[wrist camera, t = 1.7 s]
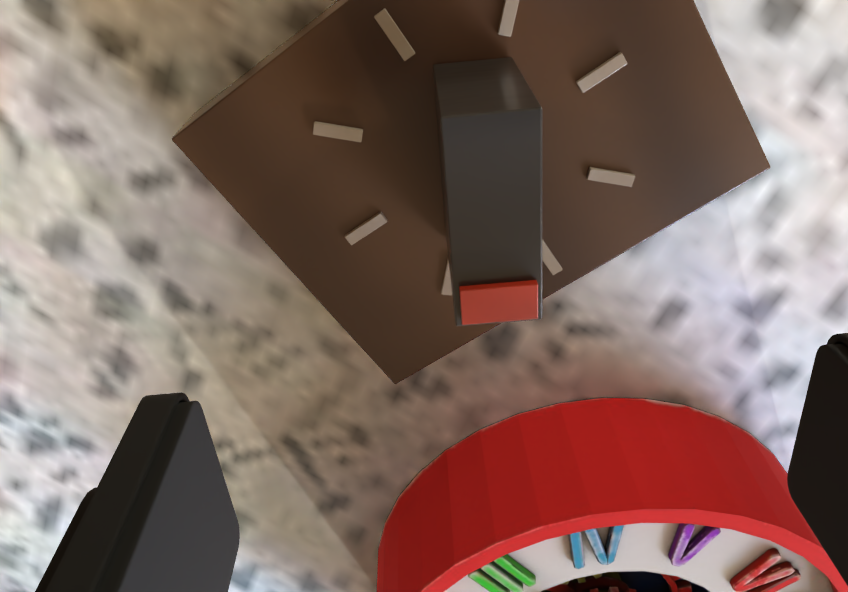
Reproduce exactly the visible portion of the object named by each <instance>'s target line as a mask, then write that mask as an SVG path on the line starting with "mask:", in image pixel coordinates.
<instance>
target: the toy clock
mask: <svg viewBox="0 0 848 592" xmlns="http://www.w3.org/2000/svg"><path fill="white" fill-rule="evenodd" d="M787 475H788V474H787V472H786V471H785V470H784V468H783V467H782V465H781V464H780V463H779V461H778V460H777V458H776V457H775V456H774V454H773V453H772V452H771V451H770V450H769V449H767V448H766V447H765V446H764V445H763V444H762V443H760V442H759V441H758V440H757V439H756V438H755V437H753V436H752V435H751V434H750V433H749V432H747V431H745V430H743V429H741V428H739V427H738V426H736V425H734V424H732V423H730V422H728V421H726V420H725V419H723V418H721V417H719V416H716V415H713V414H710V413H707V412H704V411H701V410H698V409H695V408H692V407H689V406H686V405H681V404H675V403H669V402H662V401H656V400H650V399H639V398H598V399H590V400H582V401H574V402H566V403H558V404H554V405H551V406H547V407H543V408H539V409H535V410H531V411H528V412H524V413H520V414H517V415H514V416H512V417H509V418H507V419H505V420H502V421H500V422H497V423H495V424H493V425H490V426H488V427H485V428H483V429H480V430H479V431H477V432H475V433H473V434H472V435H470V436H468V437H467V438H465V439H463V440H462V441H460V442H458V443H457V444H455V445H453V446H452V447H450V448H448V449H447V450H445V451H444V452H443V453H442V454H441V455H439V456H438V457H437V458H436V459H435V460H433V461H432V462H431V463H430V464H429V465H427V466H426V467H425V468H424V469H423V470H421V471H420V472H419V473H418V474H417V476H416V477H415V478H414V479H413V480H412V482H411V483H410V484H409V485H408V486H407V488H406V489H405V490H404V491H403V492H402V494H401V495H400V496H399V497H398V499H397V501H396V503H395V505H394V507H393V509H392V510H391V512H390V514H389V516H388V518H387V520H386V522H385V525H384V528H383V532H382V536H381V540H380V544H379V548H378V572H377V592H848V586H847V584H846V583H845V581H844V580H843V578H842V576H841V575H840V573H839V572H838V570H837V569H836V567H835V566H834V564H833V562H832V561H831V559H830V558H829V556H828V555H827V553H826V551H825V550H824V548H823V547H822V545H821V544H820V542H819V540H818V539H817V537H816V536H815V534H814V533H813V531H812V530H811V528H810V526H809V525H808V523H807V522H806V520H805V519H804V517H803V515H802V514H801V512H800V511H799V509H798V508H797V506H796V505H795V503H794V501H793V500H792V498H791V495H790V493H789V489H788V485H787Z"/></svg>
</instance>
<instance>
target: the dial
mask: <svg viewBox="0 0 848 592" xmlns="http://www.w3.org/2000/svg"><path fill="white" fill-rule="evenodd" d="M433 75H434V88H435V101H436V114H437V127H438V139H439V152H440V165H441V178H442V191H443V204H444V217H445V230H446V242H447V251H448V260H449V269H450V279H451V288H452V297H453V306H454V315H455V324H456V326H467V325H479V324H491V323H503V322H515V321H527V320H539V319H542V135H543V109H542V107H541V105H540V104H539V102H538V100H537V99H536V97H535V95H534V94H533V92H532V90H531V88H530V87H529V85H528V83H527V82H526V80H525V78H524V77H523V75H522V73H521V72H520V70H519V68H518V66H517V65H516V63H515V61H514V60H513V58H512V57H507V58H496V59H486V60H475V61H464V62H453V63H443V64H434V65H433Z"/></svg>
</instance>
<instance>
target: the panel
mask: <svg viewBox="0 0 848 592" xmlns="http://www.w3.org/2000/svg"><path fill="white" fill-rule="evenodd" d="M507 57H512V58H513V60H514V61H515V63H516V65H517V66H518V68H519V70H520V72H521V73H522V75H523V77H524V78H525V80H526V82H527V83H528V85H529V87H530V88H531V90H532V92H533V94H534V95H535V97H536V99H537V100H538V102H539V104H540V105H541V107H542V109H543V135H542V299H544V298H546V297H547V296H549V295H551V294H553V293H554V292H556V291H558V290H560V289H561V288H563V287H565V286H566V285H568V284H570V283H572V282H573V281H575V280H577V279H579V278H580V277H582V276H584V275H586V274H587V273H589V272H591V271H592V270H594V269H596V268H598V267H599V266H601V265H603V264H605V263H606V262H608V261H610V260H612V259H613V258H615V257H617V256H619V255H620V254H622V253H624V252H625V251H627V250H629V249H631V248H632V247H634V246H636V245H638V244H639V243H641V242H643V241H645V240H646V239H648V238H650V237H651V236H653V235H655V234H657V233H658V232H660V231H662V230H664V229H665V228H667V227H669V226H671V225H672V224H674V223H676V222H677V221H679V220H681V219H683V218H684V217H686V216H688V215H690V214H691V213H693V212H695V211H697V210H698V209H700V208H702V207H703V206H705V205H707V204H709V203H710V202H712V201H714V200H716V199H717V198H719V197H721V196H723V195H724V194H726V193H728V192H729V191H731V190H733V189H735V188H736V187H738V186H740V185H742V184H743V183H745V182H747V181H749V180H750V179H752V178H754V177H755V176H757V175H759V174H761V173H762V172H764V171H766V170H768V169H769V168H770V165H769V163H768V160H767V158H766V156H765V154H764V152H763V150H762V147H761V145H760V143H759V141H758V139H757V137H756V135H755V132H754V130H753V128H752V126H751V124H750V122H749V119H748V117H747V115H746V113H745V111H744V109H743V107H742V104H741V102H740V100H739V98H738V96H737V94H736V91H735V89H734V87H733V85H732V83H731V81H730V79H729V76H728V74H727V72H726V70H725V68H724V66H723V63H722V61H721V59H720V57H719V55H718V53H717V51H716V48H715V46H714V44H713V42H712V40H711V38H710V35H709V33H708V31H707V29H706V27H705V25H704V23H703V20H702V18H701V16H700V14H699V12H698V10H697V7H696V5H695V3H694V1H693V0H338V1H337V2H336V3H334V4H333V5H332V6H331V7H329V8H328V9H327V10H326V11H324V12H323V13H322V14H320V15H319V16H318V17H317V18H315V19H314V20H313V21H312V22H310V23H309V24H308V25H306V26H305V27H304V28H303V29H301V30H300V31H299V32H298V33H296V34H295V35H294V36H292V37H291V38H290V39H289V40H287V41H286V42H285V43H284V44H282V45H281V46H280V47H278V48H277V49H276V50H275V51H273V52H272V53H271V54H270V55H268V56H267V57H266V58H264V59H263V60H262V61H261V62H259V63H258V64H257V65H256V66H254V67H253V68H252V69H250V70H249V71H248V72H247V73H245V74H244V75H243V76H241V77H240V78H239V79H238V80H236V81H235V82H234V83H233V84H231V85H230V86H229V87H227V88H226V89H225V90H224V91H222V92H221V93H220V94H219V95H217V96H216V97H215V98H213V99H212V100H211V101H210V102H208V103H207V104H206V105H205V106H203V107H202V108H201V109H199V110H198V111H197V112H196V113H194V114H193V115H192V117H191V118H190V119H189V120H188V121H187V122H186V123H185V124H184V125H183V126H182V128H181V129H180V130H179V131H178V132H177V133H176V134H175V135H174V136H173V137H172V140H173V142H174V143H175V144H176V145H177V146H178V147H179V148H180V149H181V150H182V151H183V152H184V154H185V155H186V156H187V157H188V158H189V159H190V160H191V161H192V162H193V163H194V165H195V166H196V167H197V168H198V169H199V170H200V171H201V172H202V173H203V174H204V175H205V177H206V178H207V179H208V180H209V181H210V182H211V183H212V184H213V185H214V186H215V188H216V189H217V190H218V191H219V192H220V193H221V194H222V195H223V196H224V197H225V198H226V200H227V201H228V202H229V203H230V204H231V205H232V206H233V207H234V208H235V209H236V211H237V212H238V213H239V214H240V215H241V216H242V217H243V218H244V219H245V220H246V221H247V223H248V224H249V225H250V226H251V227H252V228H253V229H254V230H255V231H256V232H257V234H258V235H259V236H260V237H261V238H262V239H263V240H264V241H265V242H266V243H267V244H268V246H269V247H270V248H271V249H272V250H273V251H274V252H275V253H276V254H277V255H278V257H279V258H280V259H281V260H282V261H283V262H284V263H285V264H286V265H287V266H288V267H289V269H290V270H291V271H292V272H293V273H294V274H295V275H296V276H297V277H298V278H299V280H300V281H301V282H302V283H303V284H304V285H305V286H306V287H307V288H308V289H309V291H310V292H311V293H312V294H313V295H314V296H315V297H316V298H317V299H318V300H319V301H320V303H321V304H322V305H323V306H324V307H325V308H326V309H327V310H328V311H329V312H330V314H331V315H332V316H333V317H334V318H335V319H336V320H337V321H338V322H339V323H340V324H341V326H342V327H343V328H344V329H345V330H346V331H347V332H348V333H349V334H350V335H351V337H352V338H353V339H354V340H355V341H356V342H357V343H358V344H359V345H360V346H361V347H362V349H363V350H364V351H365V352H366V353H367V354H368V355H369V356H370V357H371V358H372V360H373V361H374V362H375V363H376V364H377V365H378V366H379V367H380V368H381V369H382V370H383V372H384V373H385V374H386V375H387V376H388V377H389V378H390V379H391V380H392V381H393V383H394V384H397V383H398V382H400V381H402V380H404V379H405V378H407V377H409V376H410V375H412V374H414V373H416V372H417V371H419V370H421V369H423V368H424V367H426V366H428V365H430V364H431V363H433V362H435V361H436V360H438V359H440V358H442V357H443V356H445V355H447V354H449V353H450V352H452V351H454V350H456V349H457V348H459V347H461V346H462V345H464V344H466V343H468V342H469V341H471V340H473V339H475V338H476V337H478V336H480V335H482V334H483V333H485V332H487V331H488V330H490V329H492V328H494V327H495V326H497V325H499V324H501V323H491V324H479V325H467V326H456V324H455V315H454V306H453V297H452V288H451V279H450V269H449V260H448V251H447V242H446V230H445V217H444V204H443V191H442V178H441V165H440V152H439V139H438V127H437V114H436V101H435V88H434V75H433V65H434V64H443V63H453V62H464V61H475V60H486V59H496V58H507Z"/></svg>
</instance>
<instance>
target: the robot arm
mask: <svg viewBox="0 0 848 592" xmlns="http://www.w3.org/2000/svg"><path fill="white" fill-rule="evenodd" d="M787 485H788V489H789V493H790V495H791V498H792V500H793V501H794V503H795V505H796V506H797V508H798V509H799V511H800V512H801V514H802V515H803V517H804V519H805V520H806V522H807V523H808V525H809V526H810V528H811V530H812V531H813V533H814V534H815V536H816V537H817V539H818V540H819V542H820V544H821V545H822V547H823V548H824V550H825V551H826V553H827V555H828V556H829V558H830V559H831V561H832V562H833V564H834V566H835V567H836V569H837V570H838V572H839V573H840V575H841V576H842V578H843V580H844V581H845V583H846V584H847V586H848V333H843V334H836V335H833V336H832V337H831V338H830V339H829V340H828V343H827V345H822V346H820V348H819V349H818V351H817V353H816V357H815V361H814V365H813V370H812V374H811V378H810V382H809V386H808V391H807V395H806V399H805V403H804V407H803V412H802V416H801V420H800V424H799V428H798V433H797V437H796V441H795V445H794V449H793V454H792V458H791V462H790V466H789V470H788V475H787ZM239 538H240V536H239V524H238V520H237V517H236V514H235V511H234V508H233V505H232V501H231V498H230V495H229V492H228V489H227V486H226V482H225V479H224V476H223V473H222V470H221V467H220V464H219V460H218V457H217V454H216V451H215V448H214V445H213V441H212V438H211V435H210V432H209V429H208V426H207V423H206V419H205V416H204V413H203V410H202V407H201V405H200V403H199V402H198V401H189V399H188V397H187V396H186V395H185V394H184V393H171V394H160V395H149V396H145V397H143V398H142V400H141V401H140V403H139V405H138V407H137V409H136V411H135V413H134V415H133V417H132V419H131V421H130V423H129V425H128V427H127V429H126V431H125V433H124V435H123V437H122V439H121V441H120V443H119V445H118V447H117V449H116V451H115V453H114V455H113V457H112V459H111V461H110V463H109V465H108V467H107V469H106V471H105V473H104V475H103V477H102V479H101V481H100V483H99V485H98V487H97V488H94V489H92V490H91V491H89V492H88V493H87V494H86V496H85V497H84V499H83V500H82V502H81V504H80V506H79V508H78V509H77V511H76V513H75V515H74V517H73V519H72V521H71V523H70V525H69V527H68V529H67V531H66V533H65V535H64V537H63V539H62V541H61V543H60V544H59V546H58V548H57V550H56V552H55V554H54V556H53V558H52V560H51V562H50V564H49V566H48V568H47V570H46V572H45V574H44V576H43V578H42V580H41V581H40V583H39V585H38V587H37V589H36V591H35V592H228V589H229V584H230V580H231V576H232V572H233V568H234V564H235V560H236V555H237V551H238V547H239Z"/></svg>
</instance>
